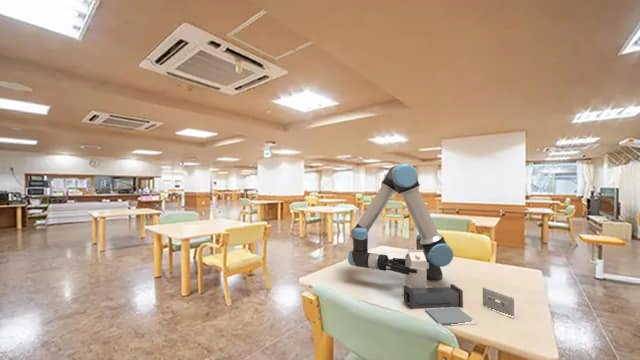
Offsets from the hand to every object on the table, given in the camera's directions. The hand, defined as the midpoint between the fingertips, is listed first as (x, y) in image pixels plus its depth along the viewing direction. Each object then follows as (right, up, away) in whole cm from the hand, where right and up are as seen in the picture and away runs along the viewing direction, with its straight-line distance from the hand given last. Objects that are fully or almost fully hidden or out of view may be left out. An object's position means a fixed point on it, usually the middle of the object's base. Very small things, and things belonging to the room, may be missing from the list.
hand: (427, 268), depth 121 cm
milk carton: (-4, -11, +2) cm, 12 cm away
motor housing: (-1, -12, -8) cm, 15 cm away
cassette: (+23, -13, -14) cm, 30 cm away
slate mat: (+1, -12, -19) cm, 22 cm away
